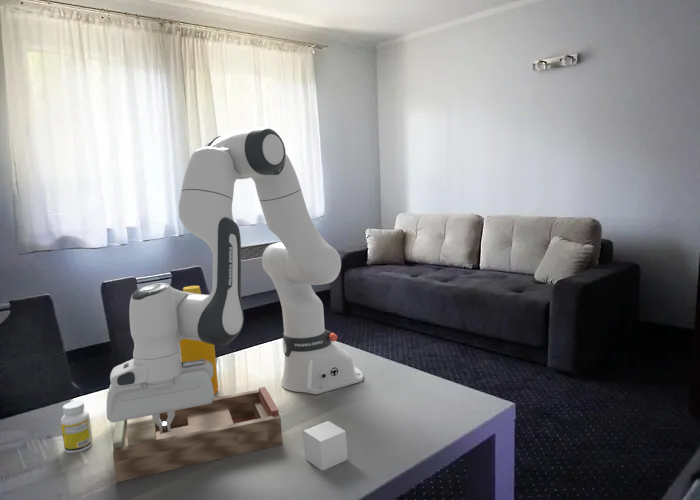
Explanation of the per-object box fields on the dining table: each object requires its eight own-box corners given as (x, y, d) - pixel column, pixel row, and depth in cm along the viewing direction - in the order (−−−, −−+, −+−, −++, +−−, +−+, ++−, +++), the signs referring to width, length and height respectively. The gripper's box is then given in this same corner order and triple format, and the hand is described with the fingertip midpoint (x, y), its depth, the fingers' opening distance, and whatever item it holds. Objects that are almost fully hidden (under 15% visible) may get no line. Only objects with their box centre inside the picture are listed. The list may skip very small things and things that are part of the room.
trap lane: (265, 412, 123) (263, 384, 122) (282, 444, 107) (280, 412, 106) (121, 441, 112) (117, 411, 111) (116, 482, 96) (112, 447, 95)
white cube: (305, 459, 101) (303, 430, 100) (329, 448, 105) (327, 420, 104) (322, 471, 96) (320, 441, 96) (347, 459, 100) (345, 430, 99)
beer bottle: (206, 402, 130) (196, 291, 127) (175, 399, 133) (165, 290, 129) (225, 388, 139) (216, 284, 135) (195, 385, 142) (186, 283, 138)
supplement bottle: (71, 442, 112) (66, 400, 111) (96, 440, 113) (92, 398, 112) (59, 455, 107) (54, 410, 106) (86, 452, 107) (81, 408, 106)
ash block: (156, 436, 105) (153, 413, 104) (156, 447, 100) (154, 423, 100) (130, 441, 103) (127, 418, 102) (129, 453, 98) (126, 429, 98)
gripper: (210, 352, 108) (215, 414, 109) (104, 369, 100) (111, 436, 102) (214, 362, 102) (219, 427, 104) (101, 380, 94) (109, 450, 96)
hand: (165, 431), depth 103 cm, fingers closed
